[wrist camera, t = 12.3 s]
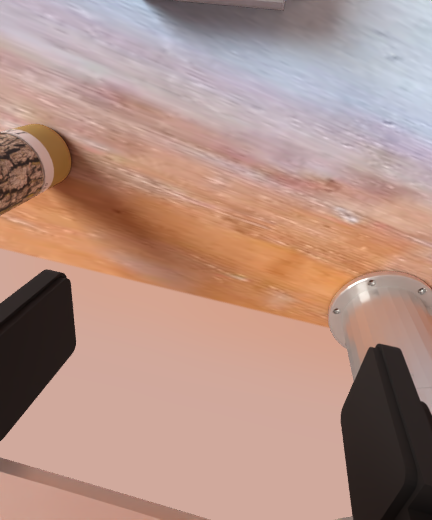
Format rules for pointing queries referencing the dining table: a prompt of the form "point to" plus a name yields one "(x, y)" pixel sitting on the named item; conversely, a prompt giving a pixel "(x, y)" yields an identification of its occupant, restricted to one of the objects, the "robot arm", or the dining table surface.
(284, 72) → the dining table surface
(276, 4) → the socket
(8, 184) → the paper tube
